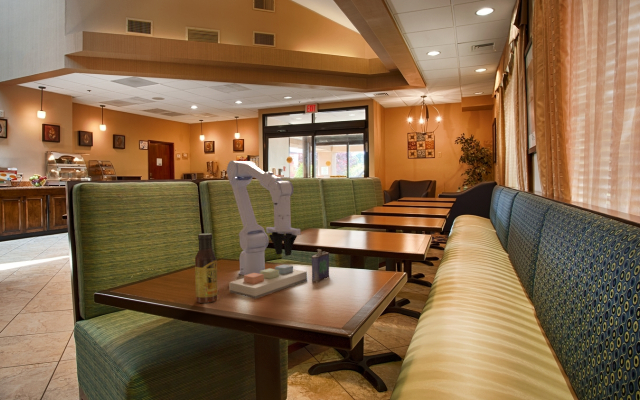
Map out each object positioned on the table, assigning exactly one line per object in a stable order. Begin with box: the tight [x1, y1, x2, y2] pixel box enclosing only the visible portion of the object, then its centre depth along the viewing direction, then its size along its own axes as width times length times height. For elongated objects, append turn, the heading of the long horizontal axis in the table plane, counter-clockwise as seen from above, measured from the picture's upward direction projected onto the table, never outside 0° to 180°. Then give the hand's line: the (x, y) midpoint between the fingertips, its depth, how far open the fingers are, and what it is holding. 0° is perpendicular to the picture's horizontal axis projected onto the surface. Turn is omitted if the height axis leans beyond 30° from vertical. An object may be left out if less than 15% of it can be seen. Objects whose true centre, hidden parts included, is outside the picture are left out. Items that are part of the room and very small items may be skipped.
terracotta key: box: [243, 273, 264, 285], centre depth 117 cm, size 4×4×3 cm
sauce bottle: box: [194, 233, 219, 304], centre depth 109 cm, size 7×6×20 cm
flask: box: [311, 248, 330, 283], centre depth 130 cm, size 9×3×11 cm, turn 146°
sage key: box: [260, 267, 279, 279], centre depth 122 cm, size 4×4×3 cm
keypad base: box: [228, 268, 308, 299], centre depth 123 cm, size 12×24×3 cm, turn 142°
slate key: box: [274, 264, 294, 275], centre depth 128 cm, size 4×4×3 cm
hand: (283, 254), depth 128 cm, fingers open, 4 cm apart
